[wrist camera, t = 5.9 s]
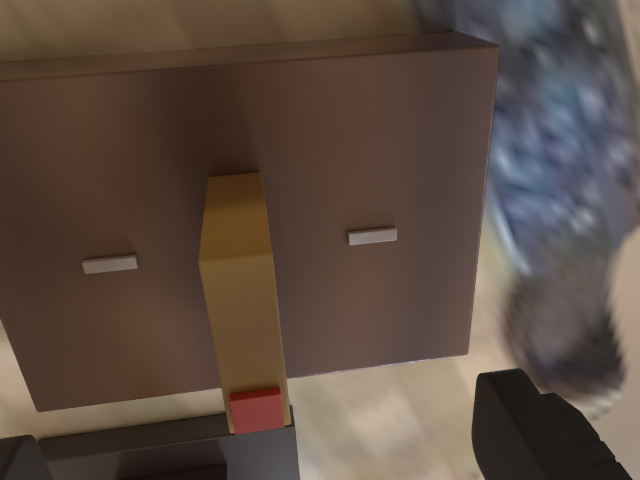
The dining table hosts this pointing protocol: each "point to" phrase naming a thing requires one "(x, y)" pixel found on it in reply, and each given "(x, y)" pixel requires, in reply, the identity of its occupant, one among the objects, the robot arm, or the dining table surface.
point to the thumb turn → (243, 303)
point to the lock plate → (280, 196)
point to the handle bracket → (175, 453)
